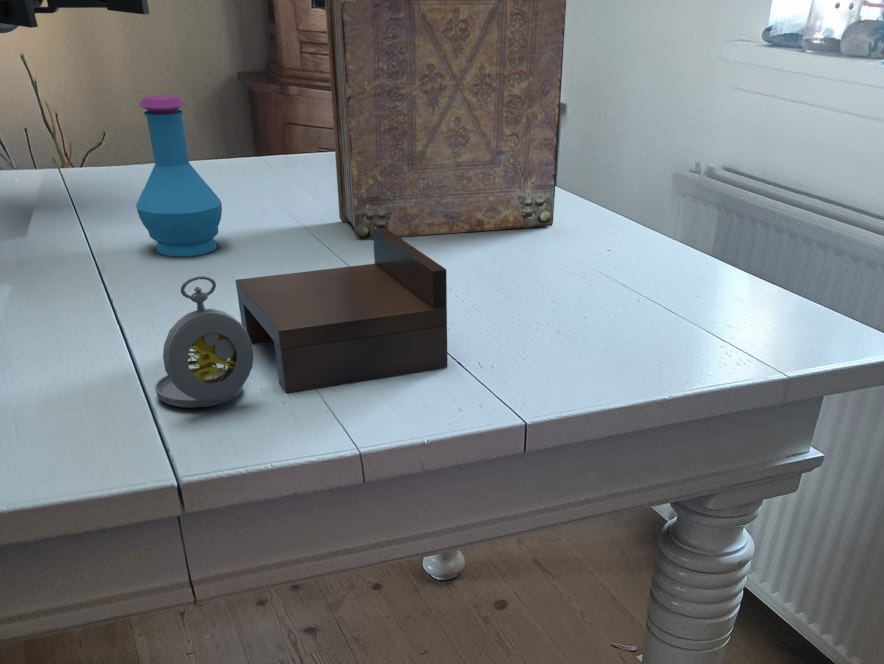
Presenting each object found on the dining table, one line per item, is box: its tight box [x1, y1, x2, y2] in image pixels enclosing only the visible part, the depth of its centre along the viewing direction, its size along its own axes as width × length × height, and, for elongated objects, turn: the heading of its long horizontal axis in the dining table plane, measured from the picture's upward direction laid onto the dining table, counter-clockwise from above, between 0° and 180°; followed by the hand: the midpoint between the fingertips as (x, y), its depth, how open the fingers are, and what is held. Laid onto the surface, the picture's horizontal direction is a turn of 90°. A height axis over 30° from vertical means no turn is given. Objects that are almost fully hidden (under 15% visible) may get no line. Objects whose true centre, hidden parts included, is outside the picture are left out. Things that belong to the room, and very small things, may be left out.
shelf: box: [235, 228, 448, 394], centre depth 78 cm, size 14×14×8 cm
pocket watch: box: [154, 275, 254, 409], centre depth 69 cm, size 8×8×10 cm
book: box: [324, 0, 567, 241], centre depth 107 cm, size 25×9×30 cm, turn 107°
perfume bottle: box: [135, 94, 223, 257], centre depth 101 cm, size 9×9×15 cm
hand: (90, 4), depth 96 cm, fingers open, 13 cm apart
